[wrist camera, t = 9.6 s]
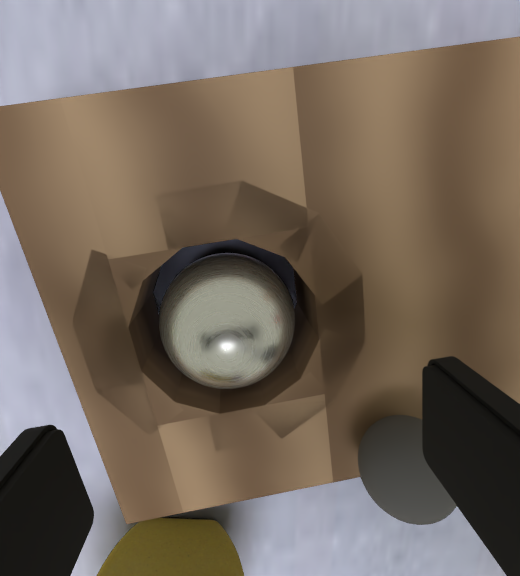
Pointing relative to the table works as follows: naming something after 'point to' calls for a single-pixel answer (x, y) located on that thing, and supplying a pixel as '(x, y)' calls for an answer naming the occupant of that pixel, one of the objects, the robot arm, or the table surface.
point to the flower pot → (174, 550)
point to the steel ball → (227, 320)
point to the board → (280, 240)
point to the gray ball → (401, 472)
